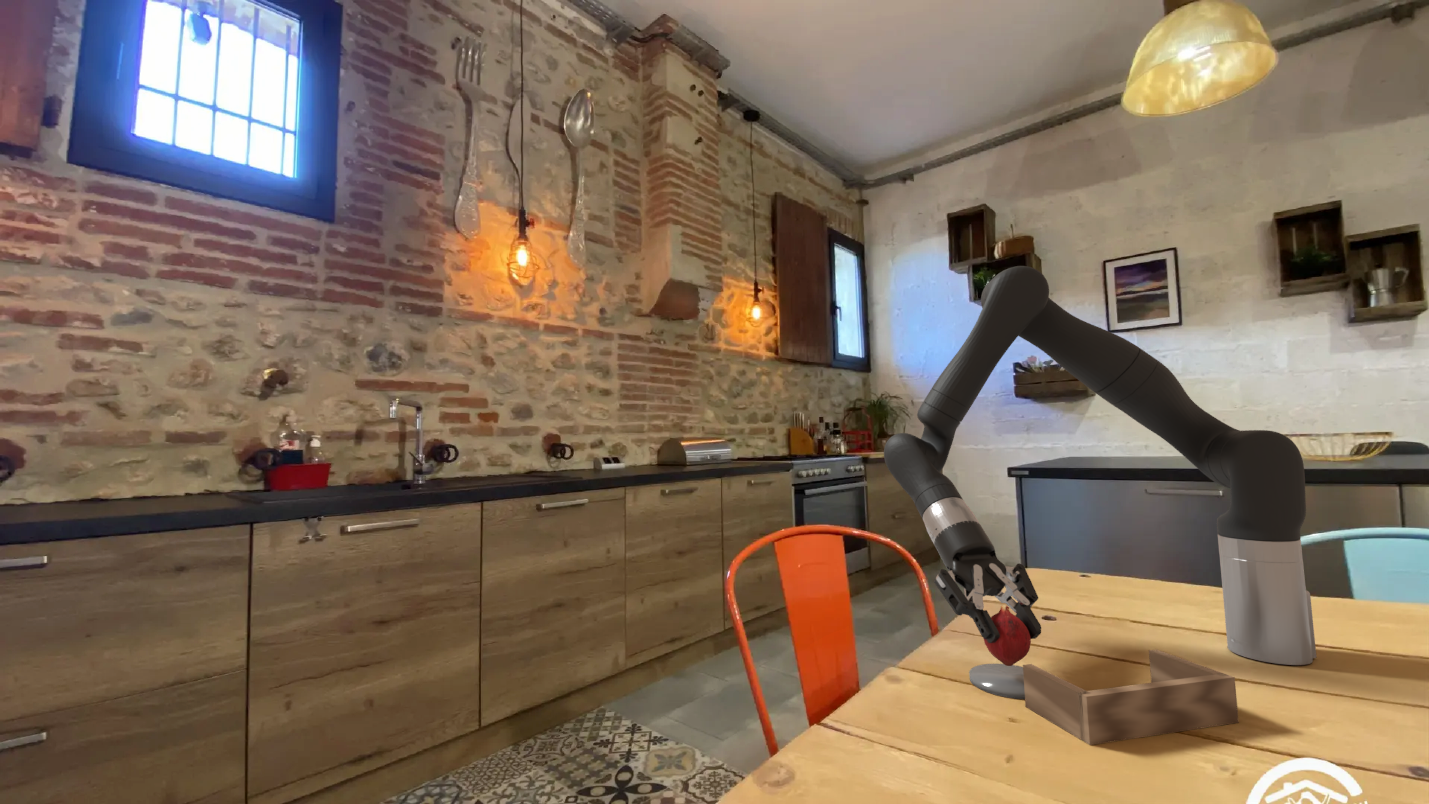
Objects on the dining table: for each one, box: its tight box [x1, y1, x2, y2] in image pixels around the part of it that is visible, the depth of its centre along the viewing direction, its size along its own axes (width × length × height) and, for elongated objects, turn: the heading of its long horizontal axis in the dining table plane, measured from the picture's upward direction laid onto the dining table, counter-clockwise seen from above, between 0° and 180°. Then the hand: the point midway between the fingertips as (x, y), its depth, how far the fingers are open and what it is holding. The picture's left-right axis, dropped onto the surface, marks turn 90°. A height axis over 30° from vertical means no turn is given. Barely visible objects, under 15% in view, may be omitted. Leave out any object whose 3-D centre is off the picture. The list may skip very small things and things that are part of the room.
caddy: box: [1022, 649, 1240, 746], centre depth 70 cm, size 20×10×5 cm, turn 102°
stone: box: [968, 663, 1025, 700], centre depth 80 cm, size 10×10×1 cm
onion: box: [982, 604, 1032, 666], centre depth 80 cm, size 6×6×8 cm
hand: (1015, 637), depth 78 cm, fingers closed on onion, 5 cm apart
